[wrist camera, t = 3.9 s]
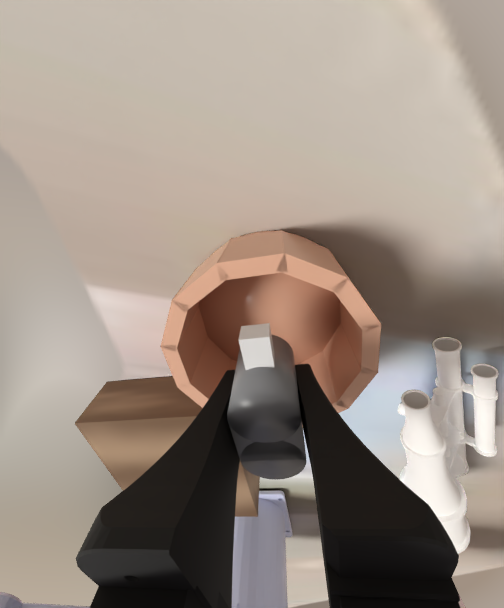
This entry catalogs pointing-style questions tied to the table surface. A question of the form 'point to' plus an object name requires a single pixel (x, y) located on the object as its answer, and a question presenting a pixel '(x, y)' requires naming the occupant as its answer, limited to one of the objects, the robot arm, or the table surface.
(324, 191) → the table surface
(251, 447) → the connector
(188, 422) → the board
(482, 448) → the white joined tubes piece
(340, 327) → the bowl
